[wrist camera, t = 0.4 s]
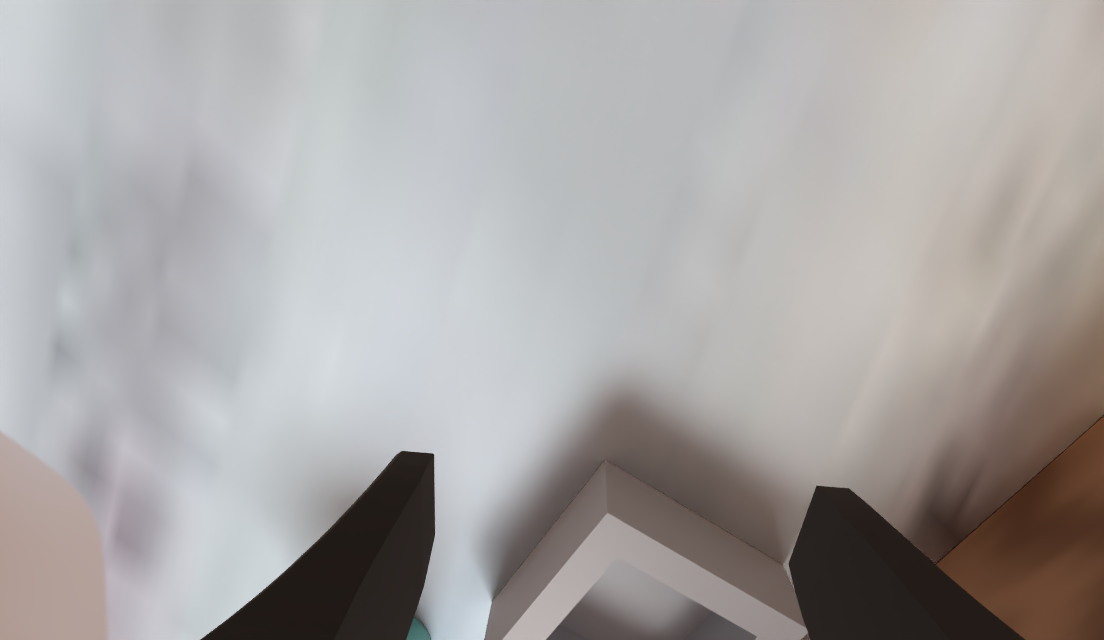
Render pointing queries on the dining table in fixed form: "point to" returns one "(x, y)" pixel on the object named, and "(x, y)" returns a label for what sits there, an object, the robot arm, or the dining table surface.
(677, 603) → the socket block
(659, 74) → the dining table surface
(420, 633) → the dowel
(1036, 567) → the rail
